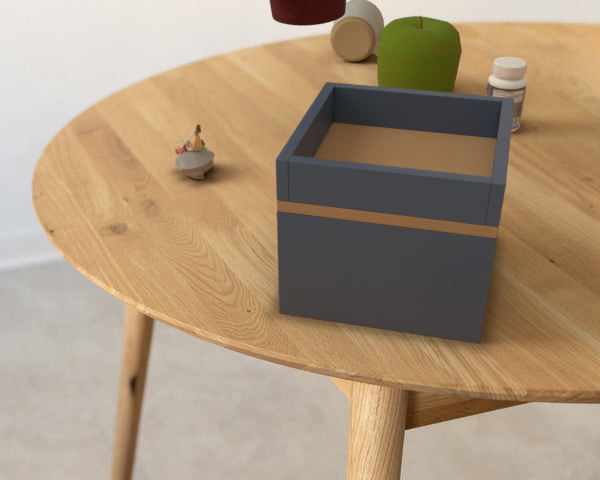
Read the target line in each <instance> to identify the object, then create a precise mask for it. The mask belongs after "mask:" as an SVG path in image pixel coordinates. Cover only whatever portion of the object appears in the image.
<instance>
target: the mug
mask: <svg viewBox="0 0 600 480" xmlns="http://www.w3.org/2000/svg"><path fill="white" fill-rule="evenodd" d="M346 3H347V0H269V6H270V12H271V18H272V19H273V20H274V21H275V22H277V23H280V24H282V25H289V26H296V27H297V26H298V27H301V26H302V27H303V26H306V27H307V26H318V25H324V24H327V23H333V22H334V21H335V20H337V19H339V18H341V17H343V16H344V14H345V11H346Z"/></svg>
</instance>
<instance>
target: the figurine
mask: <svg viewBox="0 0 600 480" xmlns="http://www.w3.org/2000/svg"><path fill="white" fill-rule="evenodd" d="M200 134H202V126H201V124H199V123H197V124H196V125H195V129H194V131H193V132H191V133H190V134H189V137H188V138H186V139H184V140H185V141H182V140H181V139H179V140H176V143H177V142H178V146H176V147H175V148H174V153H175V154H176V155H175V165H176V167H177V168H178V170H179V171H180V172H181V173H183V174H184V175H185V176H186V177H189V178H192V179H195V180H199V181H202V180H204V179H205V173H206V172H208V171H209V170H210V169H211V168H212V167H213V166H214V158H215V153H214V152H213V151H211V150H209V148H207V145H206V142H205V141H204V139H201V137H200ZM191 136H192V137H193V138H192V141H191V140H190V139H191ZM181 142H182V145H181ZM190 148H191V149H190Z"/></svg>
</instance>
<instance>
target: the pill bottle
mask: <svg viewBox="0 0 600 480" xmlns="http://www.w3.org/2000/svg"><path fill="white" fill-rule="evenodd" d="M527 68H528V62H527V61H526V60H525V59H523V58H520V57H516V56H507V55H506V56H499V57H496V58H494V60H493V63H492V67H491V70H492V71H491V73H492V74H490V75H489V77H488V78H487V83H486V92H485V93H486V94H485V96H493V97H502V98H503V97H506V98H514V107H513V117H512V128H511V133H515V132H517V130H519V129H520V127H521V122H522V116H523V110H524V105H525V99H526V92H527V86H528V80H527V78H526V74H527Z"/></svg>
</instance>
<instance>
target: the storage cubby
mask: <svg viewBox="0 0 600 480" xmlns="http://www.w3.org/2000/svg"><path fill="white" fill-rule="evenodd" d="M513 107H514V98H506V97H503V98H502V97H493V96H486V95H481V94H468V93H460V92H459V93H458V92H450V93H448V92H436V91H425V90H413V89H402V88H390V87H379V86H378V85H376V86H375V85H366V84H357V83H356V84H355V83H345V82H344V83H343V82H342V83H341V82H332V81H331V82H330V81H326V82H325V83H324V85H323V86H322V87H321V89H320V91H319V92H318V94H317V96H315V98H314V100H313V101H312V103H311V104H310V105H309V107H308V109H307V111H306V112H305V114H304V115H303V117H302V118H301V119H300V121H299V123H298V125H297V126H296V127H295V129H294V131H293V132H292V134H291V135H290V137H289V138H288V139H287V141H286V143H285V145H284V146H283V147H282V149H281V151H280V152H279V153H278V155H277V157H276V158H275V187H276V188H275V191H276V192H275V193H276V235H277V276H278V278H277V279H278V280H277V281H278V314H280V315H285V316H293V317H299V318H306V319H314V320H320V321H326V322H333V323H338V324H339V323H340V324H345V325H346V324H347V325H353V326H359V327H365V328H373V329H377V330H384V331H385V330H386V331H392V332H398V333H404V334H411V335H416V336H417V335H418V336H425V337H431V338H439V339H444V340H451V341H457V342H464V343H471V344H477V345H480V343H481V338H482V331H483V325H484V319H485V313H486V308H487V307H486V306H487V301H488V295H489V288H490V283H491V277H492V271H493V266H494V258H495V253H496V247H497V242H498V235H499V229H500V223H501V218H502V210H503V206H504V205H503V204H504V199H505V194H506V187H507V179H508V169H509V168H508V167H509V160H510V159H509V157H510V147H511V137H512V132H511V128H512V117H513Z"/></svg>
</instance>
